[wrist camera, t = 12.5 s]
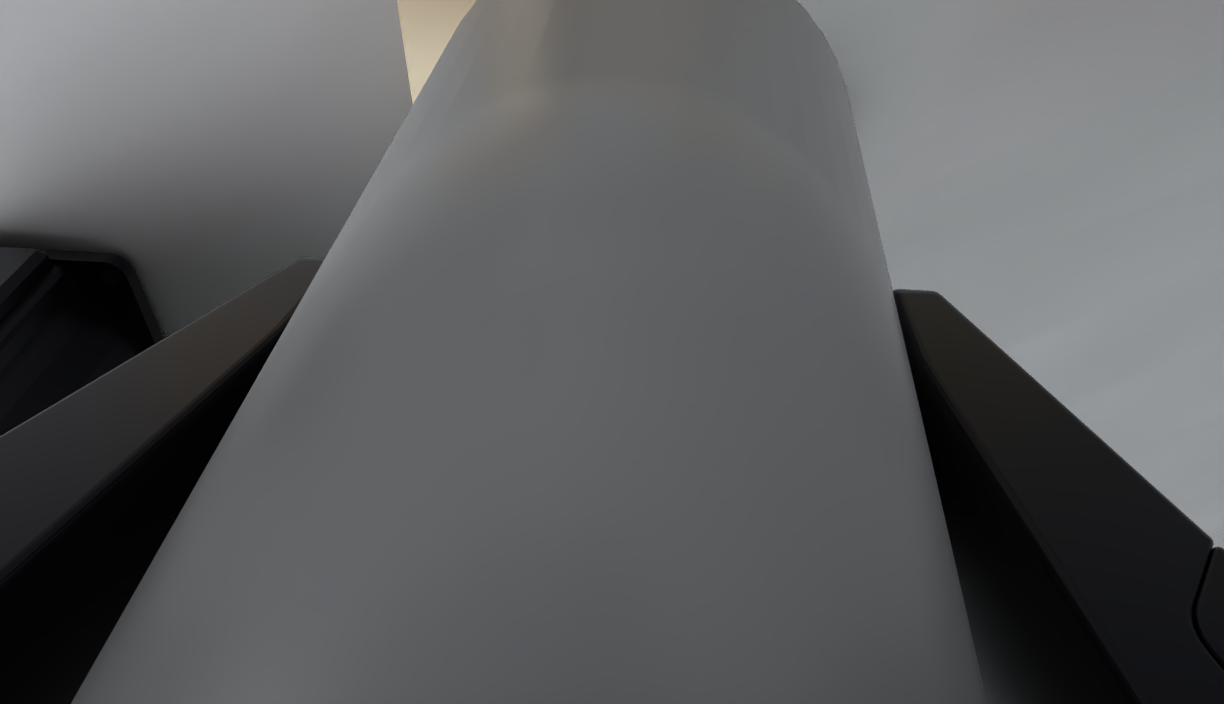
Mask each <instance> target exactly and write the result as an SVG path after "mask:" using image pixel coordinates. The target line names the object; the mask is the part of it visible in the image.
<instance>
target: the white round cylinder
mask: <svg viewBox="0 0 1224 704" xmlns="http://www.w3.org/2000/svg"><path fill="white" fill-rule="evenodd" d="M71 704H988V703H987V699H986V695H985V690H984V686H983V681H982V677H981V673H980V668H979V664H978V660H977V655H976V651H975V647H974V642H973V638H972V634H971V629H970V625H969V621H968V616H967V612H966V608H965V603H964V599H963V595H962V590H961V586H960V581H959V577H958V573H957V568H956V564H955V560H954V555H953V551H952V547H951V542H950V538H949V534H948V529H947V525H946V521H945V516H944V512H943V508H942V503H941V499H940V494H939V490H938V486H937V481H936V477H935V473H934V468H933V464H932V460H931V455H930V451H929V447H928V442H927V438H926V434H925V429H924V425H923V421H922V416H921V412H920V407H919V403H918V399H917V394H916V390H915V386H914V381H913V377H912V373H911V368H910V364H909V360H908V355H907V351H906V347H905V342H904V338H903V334H902V329H901V325H900V321H899V316H898V312H897V307H896V303H895V299H894V294H893V290H892V286H891V281H890V277H889V273H888V268H887V264H886V260H885V255H884V251H883V247H882V242H881V238H880V234H879V229H878V225H877V220H876V216H875V212H874V207H873V203H872V199H871V194H870V190H869V186H868V181H867V177H866V173H865V168H864V164H863V160H862V155H861V151H860V147H859V142H858V138H857V133H856V129H855V125H854V120H853V116H852V112H851V107H850V103H849V99H848V94H847V90H846V86H845V83H844V80H843V77H842V74H841V71H840V68H839V65H838V62H837V60H836V57H835V56H834V54H833V52H832V50H831V48H830V46H829V44H828V42H827V40H826V38H825V37H824V35H823V33H822V32H821V30H820V29H819V28H818V26H817V25H816V23H815V22H814V21H813V19H812V18H811V17H810V15H809V14H808V13H807V11H806V10H805V9H804V8H803V7H802V6H801V5H800V4H799V3H798V2H797V1H796V0H477V1H476V2H475V3H474V5H473V6H472V7H471V9H470V10H469V11H468V12H467V14H466V15H465V16H464V17H463V19H462V20H461V21H460V23H459V25H458V27H457V28H456V30H455V32H454V34H453V35H452V37H451V39H450V41H449V42H448V44H447V46H446V48H445V49H444V51H443V53H442V55H441V56H440V58H439V60H438V62H437V63H436V65H435V67H434V69H433V70H432V72H431V74H430V76H429V77H428V79H427V81H426V83H425V84H424V86H423V88H422V90H421V91H420V93H419V95H418V97H417V98H416V100H415V102H414V104H413V105H412V107H411V109H410V111H409V112H408V114H407V116H406V118H405V119H404V121H403V123H402V125H401V126H400V128H399V130H398V132H397V133H396V135H395V137H394V139H393V140H392V142H391V144H390V146H389V147H388V149H387V151H386V153H385V154H384V156H383V158H382V160H381V161H380V163H379V165H378V167H377V168H376V170H375V172H374V174H373V175H372V177H371V179H370V181H369V182H368V184H367V186H366V188H365V189H364V191H363V193H362V195H361V196H360V198H359V200H358V202H357V203H356V205H355V207H354V209H353V210H352V212H351V214H350V216H349V217H348V219H347V221H346V223H345V224H344V226H343V228H342V230H341V231H340V233H339V235H338V237H337V238H336V240H335V242H334V244H333V245H332V247H331V249H330V251H329V252H328V254H327V256H326V258H325V259H324V261H323V263H322V265H321V266H320V268H319V270H318V272H317V273H316V275H315V277H314V279H313V280H312V282H311V284H310V286H309V287H308V289H307V291H306V293H305V294H304V296H303V298H302V300H301V301H300V303H299V305H298V307H297V308H296V310H295V312H294V314H293V315H292V317H291V319H290V321H289V322H288V324H287V326H286V328H285V329H284V331H283V333H282V335H281V336H280V338H279V340H278V342H277V343H276V345H275V347H274V349H273V350H272V352H271V354H270V356H269V357H268V359H267V361H266V363H265V364H264V366H263V368H262V370H261V371H260V373H259V375H258V377H257V378H256V380H255V382H254V384H253V385H252V387H251V389H250V391H249V392H248V394H247V396H246V398H245V399H244V401H243V403H242V405H241V407H240V408H239V410H238V412H237V414H236V415H235V417H234V419H233V421H232V422H231V424H230V426H229V428H228V429H227V431H226V433H225V435H224V436H223V438H222V440H221V442H220V443H219V445H218V447H217V449H216V450H215V452H214V454H213V456H212V457H211V459H210V461H209V463H208V464H207V466H206V468H205V470H204V471H203V473H202V475H201V477H200V478H199V480H198V482H197V484H196V485H195V487H194V489H193V491H192V492H191V494H190V496H189V498H188V499H187V501H186V503H185V505H184V506H183V508H182V510H181V512H180V513H179V515H178V517H177V519H176V520H175V522H174V524H173V526H172V527H171V529H170V531H169V533H168V534H167V536H166V538H165V540H164V541H163V543H162V545H161V547H160V548H159V550H158V552H157V554H156V555H155V557H154V559H153V561H152V562H151V564H150V566H149V568H148V569H147V571H146V573H145V575H144V576H143V578H142V580H141V582H140V583H139V585H138V587H137V589H136V590H135V592H134V594H133V596H132V597H131V599H130V601H129V603H128V604H127V606H126V608H125V610H124V611H123V613H122V615H121V617H120V618H119V620H118V622H117V624H116V625H115V627H114V629H113V631H112V632H111V634H110V636H109V638H108V639H107V641H106V643H105V645H104V646H103V648H102V650H101V652H100V653H99V655H98V657H97V659H96V660H95V662H94V664H93V666H92V667H91V669H90V671H89V673H88V674H87V676H86V678H85V680H84V681H83V683H82V685H81V687H80V688H79V690H78V692H77V694H76V695H75V697H74V699H73V701H72V702H71Z"/></svg>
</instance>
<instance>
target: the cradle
mask: <svg viewBox="0 0 1224 704" xmlns="http://www.w3.org/2000/svg"><path fill="white" fill-rule="evenodd" d="M476 1H477V0H397V6H398V12H399V19H400V25H401V32H402V38H403V45H404V51H405V58H406V64H407V71H408V77H409V84H410V90H411V97H412V103H413V104H414V102H415V100H416V98H417V97H418V95H419V93H420V91H421V90H422V88H423V86H424V84H425V83H426V81H427V79H428V77H429V76H430V74H431V72H432V70H433V69H434V67H435V65H436V63H437V62H438V60H439V58H440V56H441V55H442V53H443V51H444V49H445V48H446V46H447V44H448V42H449V41H450V39H451V37H452V35H453V34H454V32H455V30H456V28H457V27H458V25H459V23H460V21H461V20H462V19H463V17H464V16H465V15H466V14H467V12H468V11H469V10H470V9H471V7H472V6H473V5H474V3H475V2H476Z"/></svg>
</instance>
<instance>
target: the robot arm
mask: <svg viewBox="0 0 1224 704" xmlns="http://www.w3.org/2000/svg"><path fill="white" fill-rule="evenodd" d="M324 259H325V258H319V257H302V258H299V259H297V260H296V261H294V262H292V263H290V264H289V265H287V266H285V267H284V268H282V269H280V270H279V271H277V272H275V273H274V274H272V275H270V276H269V277H267V278H265V279H264V280H262V281H260V282H259V283H257V284H255V285H254V286H252V287H250V288H249V289H247V290H245V291H244V292H242V293H240V294H238V295H237V296H235V297H233V298H232V299H230V300H228V301H227V302H225V303H223V304H222V305H220V306H218V307H217V308H215V309H213V310H212V311H210V312H208V313H207V314H205V315H203V316H202V317H200V318H198V319H197V320H195V321H193V322H192V323H190V324H188V325H186V326H185V327H183V328H181V329H180V330H178V331H176V332H175V333H173V334H171V335H170V336H168V337H166V338H165V339H163V337H162V335H161V333H160V330H159V328H158V325H157V323H156V321H155V318H154V316H153V313H152V311H151V309H150V306H149V304H148V301H147V299H146V297H145V294H144V292H143V289H142V287H141V284H140V282H139V280H138V277H137V275H136V272H135V270H134V268H133V267H132V265H131V264H130V263H129V262H128V261H127V260H126V259H124V258H122V257H120V256H118V255H115V254H108V253H89V252H70V251H51V250H37V249H30V248H11V247H0V704H71V702H72V701H73V699H74V697H75V695H76V694H77V692H78V690H79V688H80V687H81V685H82V683H83V681H84V680H85V678H86V676H87V674H88V673H89V671H90V669H91V667H92V666H93V664H94V662H95V660H96V659H97V657H98V655H99V653H100V652H101V650H102V648H103V646H104V645H105V643H106V641H107V639H108V638H109V636H110V634H111V632H112V631H113V629H114V627H115V625H116V624H117V622H118V620H119V618H120V617H121V615H122V613H123V611H124V610H125V608H126V606H127V604H128V603H129V601H130V599H131V597H132V596H133V594H134V592H135V590H136V589H137V587H138V585H139V583H140V582H141V580H142V578H143V576H144V575H145V573H146V571H147V569H148V568H149V566H150V564H151V562H152V561H153V559H154V557H155V555H156V554H157V552H158V550H159V548H160V547H161V545H162V543H163V541H164V540H165V538H166V536H167V534H168V533H169V531H170V529H171V527H172V526H173V524H174V522H175V520H176V519H177V517H178V515H179V513H180V512H181V510H182V508H183V506H184V505H185V503H186V501H187V499H188V498H189V496H190V494H191V492H192V491H193V489H194V487H195V485H196V484H197V482H198V480H199V478H200V477H201V475H202V473H203V471H204V470H205V468H206V466H207V464H208V463H209V461H210V459H211V457H212V456H213V454H214V452H215V450H216V449H217V447H218V445H219V443H220V442H221V440H222V438H223V436H224V435H225V433H226V431H227V429H228V428H229V426H230V424H231V422H232V421H233V419H234V417H235V415H236V414H237V412H238V410H239V408H240V407H241V405H242V403H243V401H244V399H245V398H246V396H247V394H248V392H249V391H250V389H251V387H252V385H253V384H254V382H255V380H256V378H257V377H258V375H259V373H260V371H261V370H262V368H263V366H264V364H265V363H266V361H267V359H268V357H269V356H270V354H271V352H272V350H273V349H274V347H275V345H276V343H277V342H278V340H279V338H280V336H281V335H282V333H283V331H284V329H285V328H286V326H287V324H288V322H289V321H290V319H291V317H292V315H293V314H294V312H295V310H296V308H297V307H298V305H299V303H300V301H301V300H302V298H303V296H304V294H305V293H306V291H307V289H308V287H309V286H310V284H311V282H312V280H313V279H314V277H315V275H316V273H317V272H318V270H319V268H320V266H321V265H322V263H323V261H324ZM110 270H111V271H113V272H114V273H116V274H117V275H115V274H113V273H112V272H111V271H110ZM893 294H894V299H895V303H896V307H897V312H898V316H899V321H900V325H901V329H902V334H903V338H904V342H905V347H906V351H907V355H908V360H909V364H910V368H911V373H912V377H913V381H914V386H915V390H916V394H917V399H918V403H919V407H920V412H921V416H922V421H923V425H924V429H925V434H926V438H927V442H928V447H929V451H930V455H931V460H932V464H933V468H934V473H935V477H936V481H937V486H938V490H939V494H940V499H941V503H942V508H943V512H944V516H945V521H946V525H947V529H948V534H949V538H950V542H951V547H952V551H953V555H954V560H955V564H956V568H957V573H958V577H959V581H960V586H961V590H962V595H963V599H964V603H965V608H966V612H967V616H968V621H969V625H970V629H971V634H972V638H973V642H974V647H975V651H976V655H977V660H978V664H979V668H980V673H981V677H982V681H983V686H984V690H985V695H986V699H987V703H988V704H1224V549H1223V548H1221V547H1215V548H1213V549H1212V547H1213V540H1212V539H1211V538H1210V537H1209V536H1208V535H1207V534H1206V533H1205V532H1204V531H1203V530H1202V529H1200V528H1199V527H1198V526H1197V525H1196V524H1195V523H1194V522H1193V521H1192V520H1190V519H1189V518H1188V517H1187V516H1186V515H1185V514H1184V513H1183V512H1182V511H1180V510H1179V509H1178V508H1177V507H1176V506H1175V505H1174V504H1173V503H1172V502H1170V501H1169V500H1168V499H1167V498H1166V497H1165V496H1164V495H1163V494H1162V493H1160V492H1159V491H1158V490H1157V489H1156V488H1155V487H1154V486H1153V485H1152V484H1150V483H1149V482H1148V481H1147V480H1146V479H1145V478H1144V477H1143V476H1142V475H1140V474H1139V473H1138V472H1137V471H1136V470H1135V469H1134V468H1133V467H1132V466H1130V465H1129V464H1128V463H1127V462H1126V461H1125V460H1124V459H1123V458H1122V457H1120V456H1119V455H1118V454H1117V453H1116V452H1115V451H1114V450H1113V449H1112V448H1110V447H1109V446H1108V445H1107V444H1106V443H1105V442H1104V441H1103V440H1102V439H1100V438H1099V437H1098V436H1097V435H1096V434H1095V433H1094V432H1093V431H1092V430H1090V429H1089V428H1088V427H1087V426H1086V425H1085V424H1084V423H1083V422H1082V421H1080V420H1079V419H1078V418H1077V417H1076V416H1075V415H1074V414H1073V413H1072V412H1070V411H1069V410H1068V409H1067V408H1066V407H1065V406H1064V405H1063V404H1062V403H1061V402H1059V401H1058V400H1057V399H1056V398H1055V397H1054V396H1053V395H1052V394H1051V393H1049V392H1048V391H1047V390H1046V389H1045V388H1044V387H1043V386H1042V385H1041V384H1039V383H1038V382H1037V381H1036V380H1035V379H1034V378H1033V377H1032V376H1031V375H1029V374H1028V373H1027V372H1026V371H1025V370H1024V369H1023V368H1022V367H1021V366H1019V365H1018V364H1017V363H1016V362H1015V361H1014V360H1013V359H1012V358H1011V357H1009V356H1008V355H1007V354H1006V353H1005V352H1004V351H1003V350H1002V349H1001V348H999V347H998V346H997V345H996V344H995V343H994V342H993V341H992V340H991V339H989V338H988V337H987V336H986V335H985V334H984V333H983V332H982V331H981V330H979V329H978V328H977V327H976V326H975V325H974V324H973V323H972V322H971V321H969V320H968V319H967V318H966V317H965V316H964V315H963V314H962V313H961V312H959V311H958V310H957V309H956V308H955V307H954V306H953V305H952V304H951V303H949V302H948V301H947V300H946V299H945V298H944V297H943V296H942V295H940V294H939V293H937V292H934V291H924V290H905V289H896V290H894V291H893Z"/></svg>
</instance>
